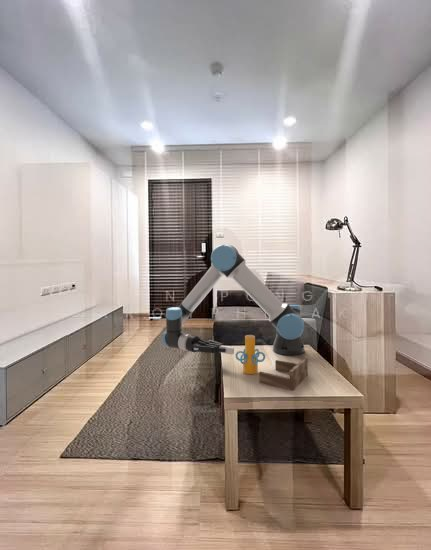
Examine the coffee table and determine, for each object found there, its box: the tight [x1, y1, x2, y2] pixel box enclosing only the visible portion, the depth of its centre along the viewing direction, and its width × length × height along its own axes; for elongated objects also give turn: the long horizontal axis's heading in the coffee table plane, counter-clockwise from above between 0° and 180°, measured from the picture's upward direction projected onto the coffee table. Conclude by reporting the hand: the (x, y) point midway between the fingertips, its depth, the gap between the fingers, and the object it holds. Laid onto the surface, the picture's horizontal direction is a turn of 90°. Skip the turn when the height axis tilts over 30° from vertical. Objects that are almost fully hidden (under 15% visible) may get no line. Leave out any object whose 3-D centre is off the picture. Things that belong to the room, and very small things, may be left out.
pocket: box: [258, 357, 309, 392], centre depth 122 cm, size 16×13×7 cm
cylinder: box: [235, 334, 266, 375], centre depth 130 cm, size 12×10×15 cm
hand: (233, 351), depth 135 cm, fingers closed
